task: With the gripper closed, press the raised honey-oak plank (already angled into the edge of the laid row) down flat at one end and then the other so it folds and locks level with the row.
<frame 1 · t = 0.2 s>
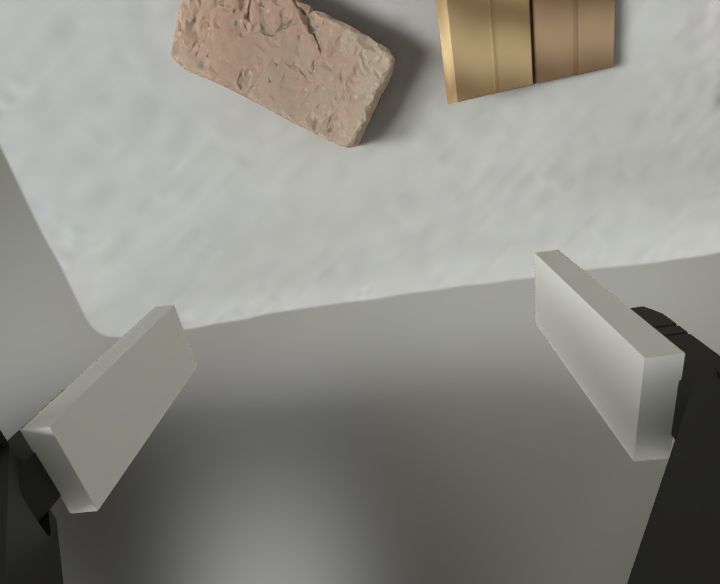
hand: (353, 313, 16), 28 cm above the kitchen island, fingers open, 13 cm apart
brick: (293, 61, 38), on the kitchen island
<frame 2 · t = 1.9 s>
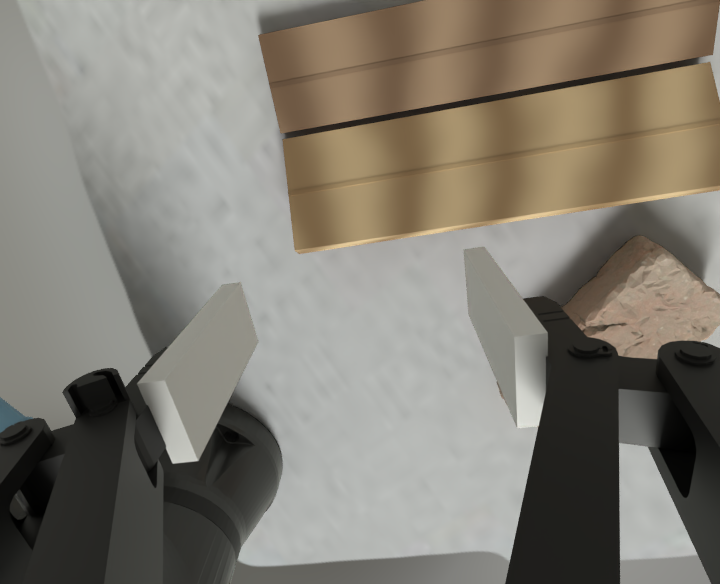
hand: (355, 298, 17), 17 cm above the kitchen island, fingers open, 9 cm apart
laid row: (479, 47, 28), on the kitchen island
plank: (493, 163, 29), point 3 cm above the kitchen island, hinge at 30.0°
brick: (588, 331, 37), on the kitchen island
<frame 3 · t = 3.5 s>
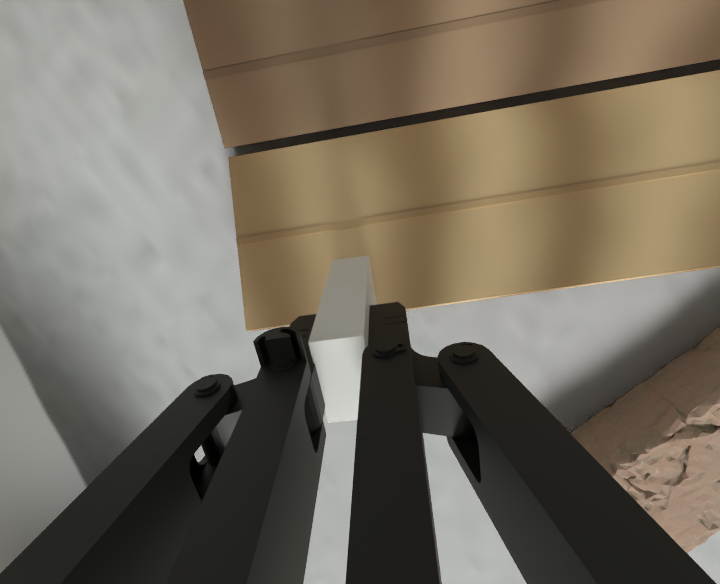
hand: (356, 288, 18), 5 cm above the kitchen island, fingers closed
laid row: (531, 14, 18), on the kitchen island
plank: (552, 195, 19), point 2 cm above the kitchen island, hinge at 29.2°, touching gripper
brick: (666, 417, 27), on the kitchen island
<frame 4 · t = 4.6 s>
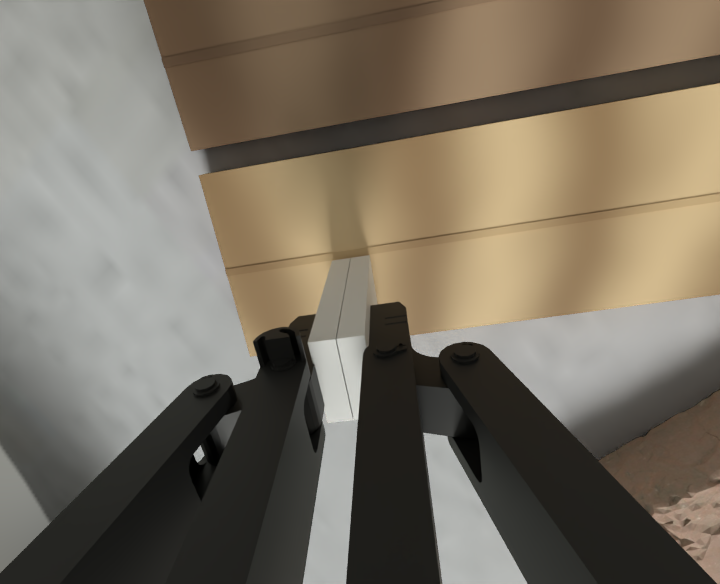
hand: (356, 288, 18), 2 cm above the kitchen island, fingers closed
plank: (565, 217, 17), point 1 cm above the kitchen island, hinge at 4.1°, touching gripper
brick: (700, 451, 24), on the kitchen island
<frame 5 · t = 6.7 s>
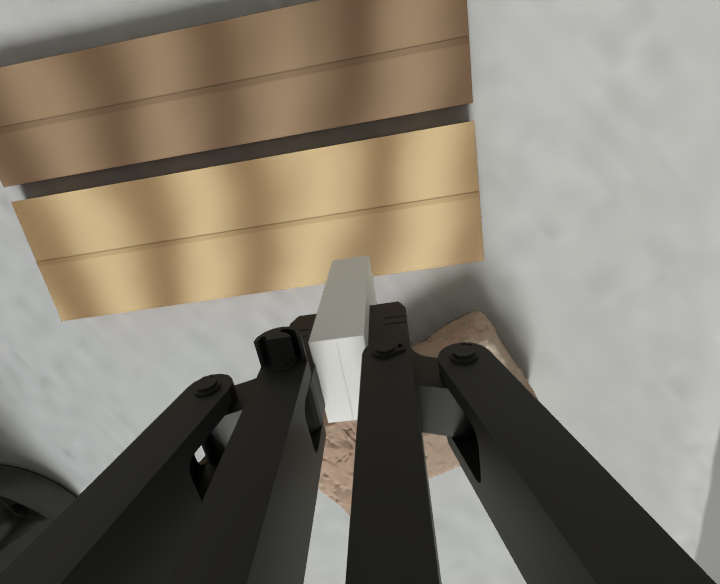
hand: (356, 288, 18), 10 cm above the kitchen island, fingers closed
laid row: (216, 90, 25), on the kitchen island
plank: (249, 229, 27), point 1 cm above the kitchen island, hinge at 4.0°
brick: (408, 395, 33), on the kitchen island
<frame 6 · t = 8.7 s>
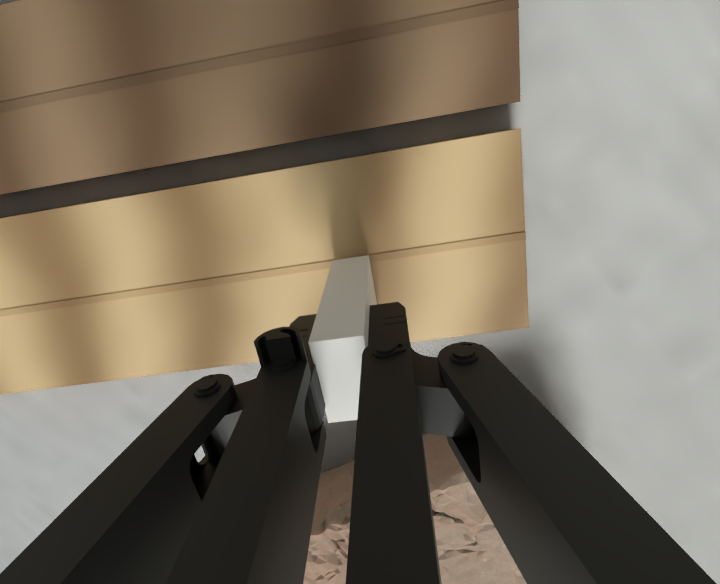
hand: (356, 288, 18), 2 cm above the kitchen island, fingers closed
laid row: (139, 84, 17), on the kitchen island
plank: (195, 281, 19), point 1 cm above the kitchen island, hinge at 4.0°, touching gripper
brick: (417, 486, 25), on the kitchen island
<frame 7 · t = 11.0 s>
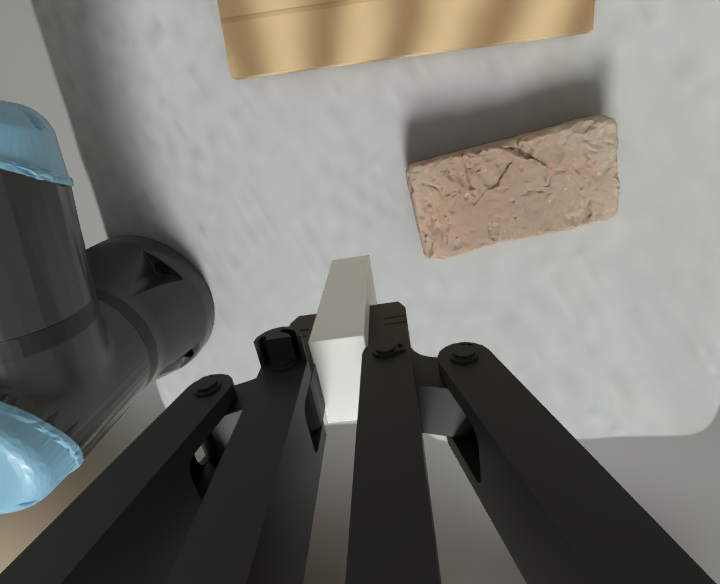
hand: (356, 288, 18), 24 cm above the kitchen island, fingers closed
brick: (503, 183, 39), on the kitchen island
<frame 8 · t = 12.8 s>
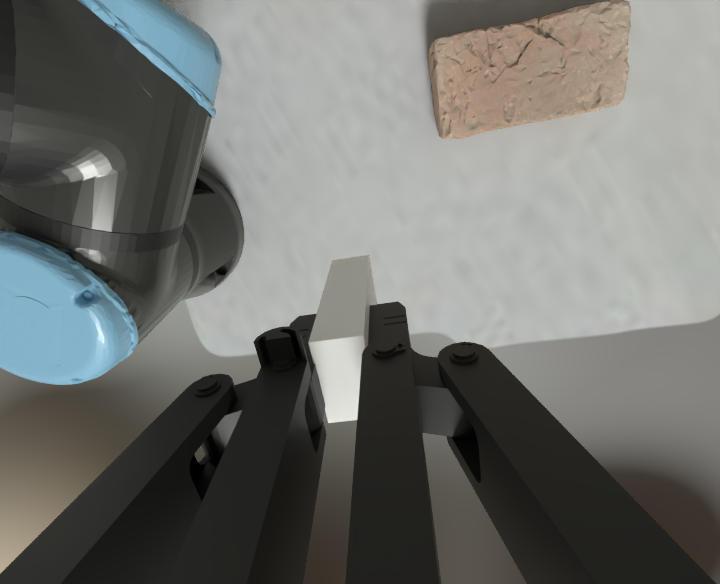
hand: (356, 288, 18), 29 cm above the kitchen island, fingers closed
brick: (517, 74, 41), on the kitchen island
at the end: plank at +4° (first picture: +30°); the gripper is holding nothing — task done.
